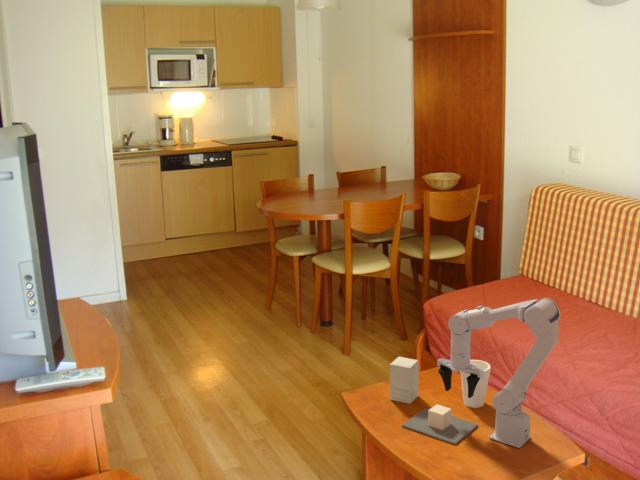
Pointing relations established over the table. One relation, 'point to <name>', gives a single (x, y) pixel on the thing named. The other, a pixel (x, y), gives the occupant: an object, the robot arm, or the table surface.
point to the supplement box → (404, 380)
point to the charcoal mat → (449, 434)
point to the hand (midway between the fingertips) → (459, 393)
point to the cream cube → (439, 417)
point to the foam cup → (481, 386)
